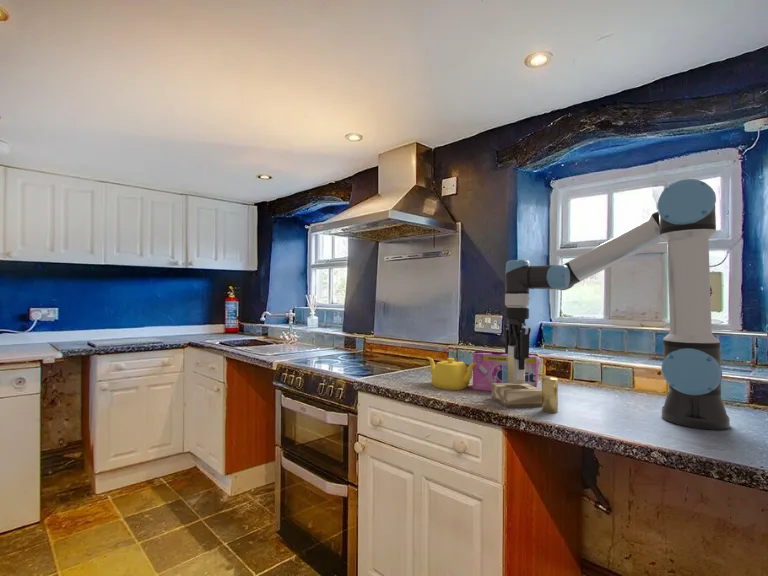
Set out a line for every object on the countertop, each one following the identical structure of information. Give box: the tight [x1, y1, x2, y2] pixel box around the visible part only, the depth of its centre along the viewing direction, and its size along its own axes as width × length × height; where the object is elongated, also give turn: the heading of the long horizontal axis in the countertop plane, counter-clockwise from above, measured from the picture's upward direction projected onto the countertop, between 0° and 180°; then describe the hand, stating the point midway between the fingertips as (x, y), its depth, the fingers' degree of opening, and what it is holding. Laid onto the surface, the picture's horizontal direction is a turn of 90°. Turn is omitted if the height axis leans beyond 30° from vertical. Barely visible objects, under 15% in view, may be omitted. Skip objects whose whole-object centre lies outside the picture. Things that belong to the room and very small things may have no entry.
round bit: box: [541, 376, 559, 414], centre depth 122 cm, size 4×4×10 cm
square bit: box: [508, 345, 525, 384], centre depth 132 cm, size 4×4×12 cm
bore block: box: [491, 383, 542, 409], centre depth 132 cm, size 12×12×5 cm
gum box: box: [472, 350, 542, 392], centre depth 150 cm, size 24×8×14 cm, turn 70°
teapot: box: [426, 356, 477, 391], centre depth 156 cm, size 22×16×11 cm
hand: (516, 377), depth 132 cm, fingers closed on square bit, 4 cm apart
